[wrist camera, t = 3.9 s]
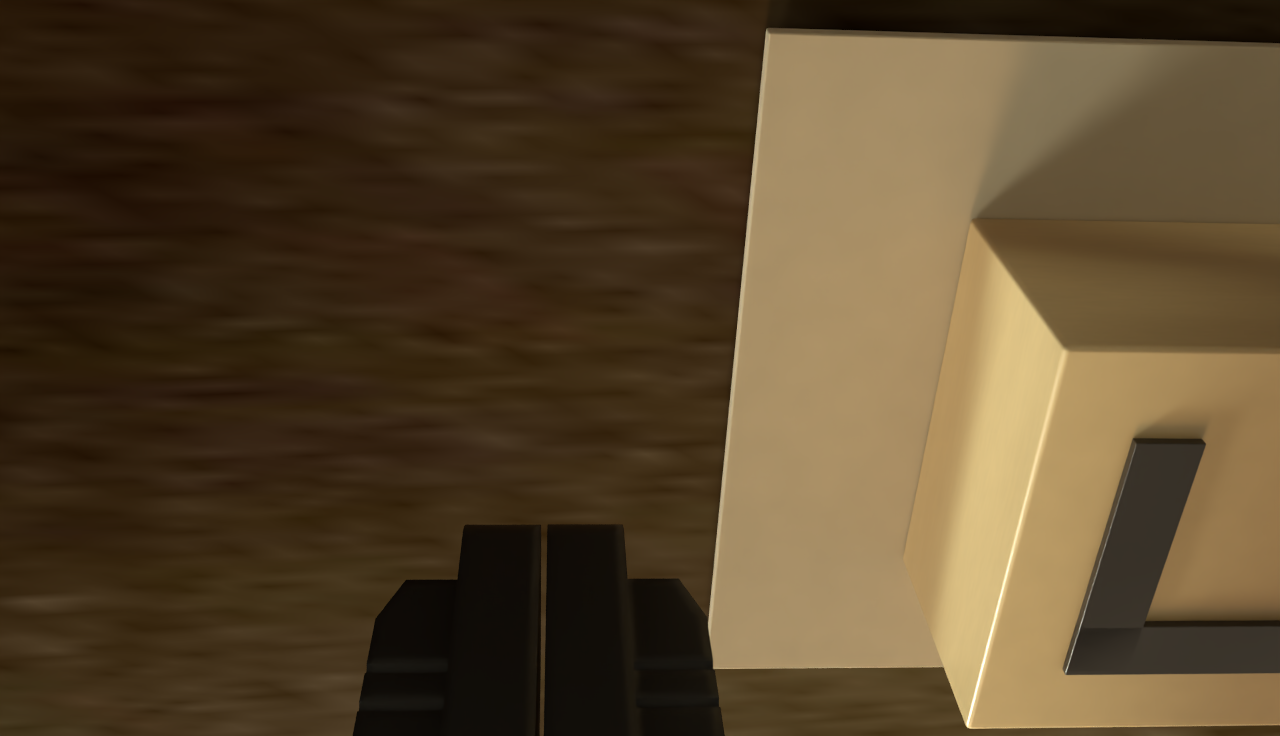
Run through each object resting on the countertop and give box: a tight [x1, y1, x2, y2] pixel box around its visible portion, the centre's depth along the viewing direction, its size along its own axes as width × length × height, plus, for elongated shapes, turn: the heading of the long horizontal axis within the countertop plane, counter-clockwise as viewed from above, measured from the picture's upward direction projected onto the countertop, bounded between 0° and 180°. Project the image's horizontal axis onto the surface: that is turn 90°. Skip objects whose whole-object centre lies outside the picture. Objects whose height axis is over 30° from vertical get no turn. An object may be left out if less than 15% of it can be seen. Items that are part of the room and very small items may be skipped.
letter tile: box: [903, 218, 1280, 729], centre depth 14 cm, size 5×5×3 cm
